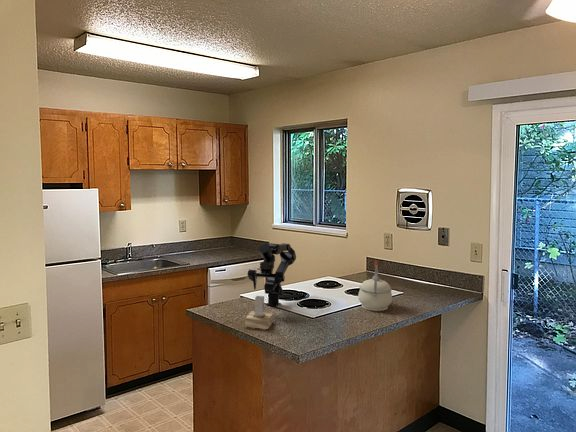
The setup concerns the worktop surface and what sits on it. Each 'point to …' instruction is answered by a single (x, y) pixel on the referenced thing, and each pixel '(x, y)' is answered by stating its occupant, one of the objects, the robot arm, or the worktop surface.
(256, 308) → the square bit
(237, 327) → the worktop surface
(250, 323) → the socket block
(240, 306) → the worktop surface
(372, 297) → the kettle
